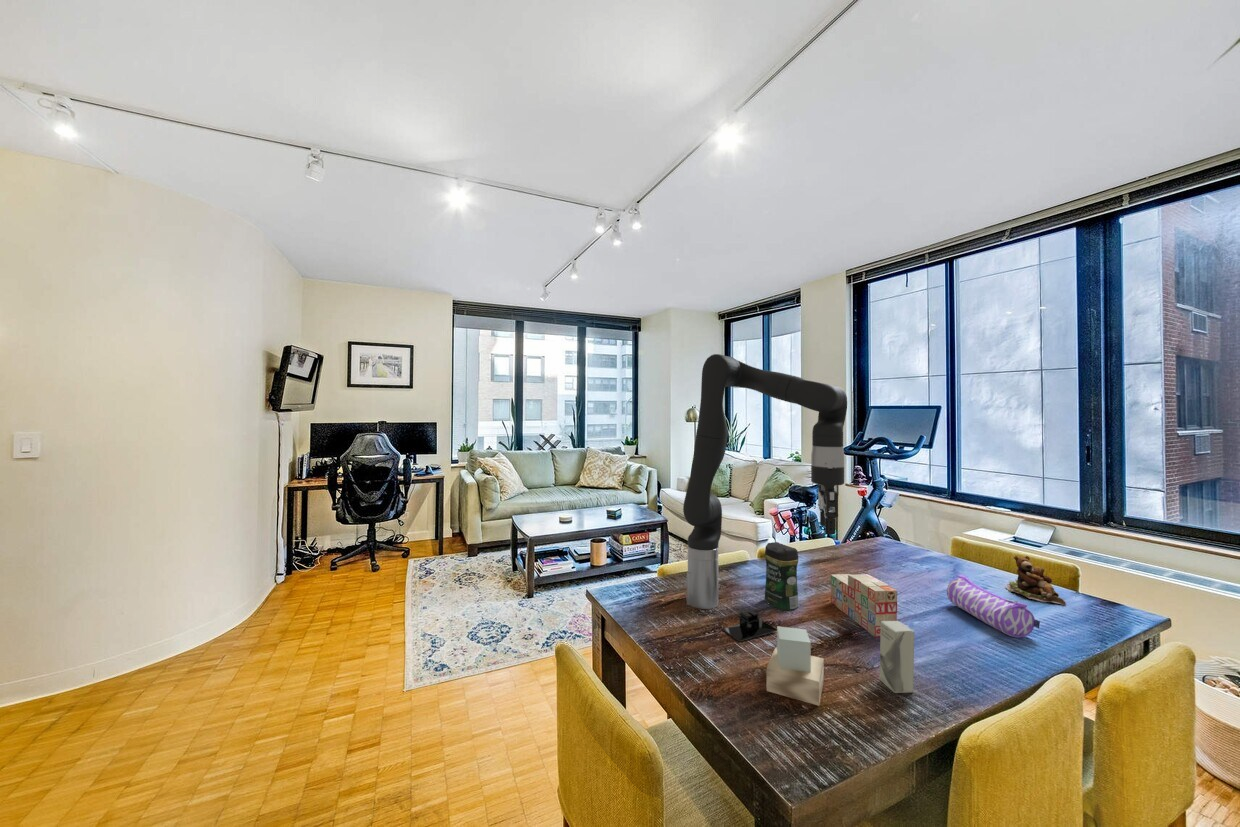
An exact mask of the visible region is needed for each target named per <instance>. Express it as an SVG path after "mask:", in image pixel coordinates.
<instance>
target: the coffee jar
mask: <svg viewBox="0 0 1240 827" xmlns="http://www.w3.org/2000/svg"><path fill="white" fill-rule="evenodd" d="M764 559H765V565H766V566H765V568H766V570H765V573H766V574H765V587H764V588H765V589H764V602H765V603H766V604H768V603H769V604H768V605H770V606H771V605H772V607H774V608H775V609H778V610H780V611H794V610H796V609H798V608H799V593H798V592H799V591H798V577H797V576H798V574H797V571H798V565H799V551H798V549H796V548H795V547H792V546H789V545H786V544H783V543H781V542H778V541H774V542H768V543H767V544H765V549H764Z"/></svg>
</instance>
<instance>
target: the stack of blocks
mask: <svg viewBox="0 0 1240 827" xmlns="http://www.w3.org/2000/svg"><path fill="white" fill-rule="evenodd" d="M830 596H831V597H830V600H831V601H830V603H831V604H832V605H834V606H835V607H836V608H838V609H839V610H840V611H841V612H842V613H844V614H845V615H846V616H848V617H849V618H850V619H851V620H853V621H854V622H855V623H856V624H858V625H859V626H860V627H862V628H863V630H865V631H866V632H868V633H869V634H871V636H873V637H874V638H880V635H881V621H898V590H897V589H895V588H893V587H892V586H890V585H889V584H888V583H886V582H883V581H881V580H880V579H877V578H876V577H874V576H872V575H870V574H867V573H861V574H849V573H842V574H838V573H837V574H830Z"/></svg>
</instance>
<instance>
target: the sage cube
mask: <svg viewBox="0 0 1240 827" xmlns="http://www.w3.org/2000/svg"><path fill="white" fill-rule="evenodd" d="M776 629H777V631H776V647H777V656H778V661H779V667H780V668H782V669H790V670H798V671H805V672H811V656H812V655H811V654H812V652H811V646H812V644H811V639H810V636H809V634H808V630H807V629H804V628H795V627H786V626H778V625H777V626H776Z"/></svg>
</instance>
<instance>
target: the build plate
mask: <svg viewBox="0 0 1240 827" xmlns="http://www.w3.org/2000/svg"><path fill="white" fill-rule="evenodd" d="M739 614H740V615H739V619H738V620H739V623H738V624H733V625H730V626H726V627H723V628H722V631H723V632H725V633H727V635H730V636H731V638H732V637H733V638H734V639H735V640H736V641H738V642H742V641H746V640H749V639H753V638H757V637H760V636H763V635H764V636H765V635H767V634H771V633H774V632H777V628H775V627H774V626H772V625H771V624H769V623H767V622H765V621H764V620H762V619H760V616H759V613H757V612H755V611H754V610H752V609H748V610H744V611H741V612H740V613H739Z"/></svg>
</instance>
